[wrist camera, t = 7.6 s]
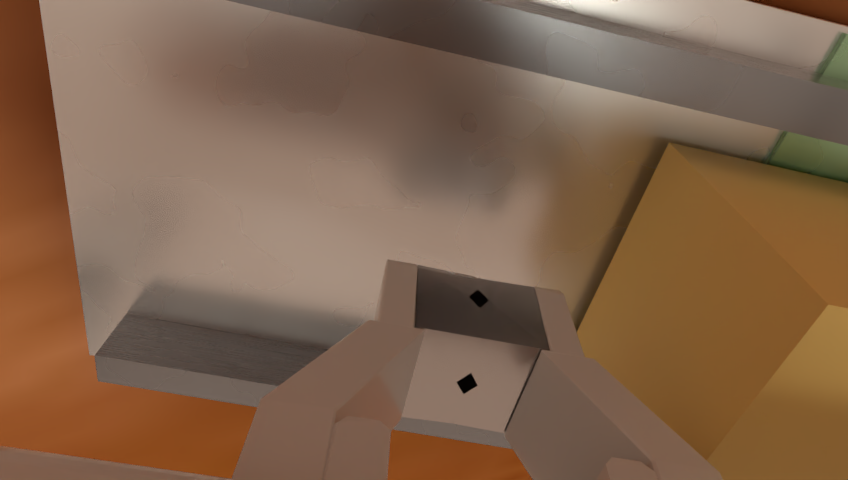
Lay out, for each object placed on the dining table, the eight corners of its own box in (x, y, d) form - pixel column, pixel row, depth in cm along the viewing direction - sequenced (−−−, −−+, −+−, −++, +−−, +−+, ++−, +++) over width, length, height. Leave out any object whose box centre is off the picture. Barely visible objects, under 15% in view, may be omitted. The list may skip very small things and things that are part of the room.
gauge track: (53, -179, 9) (-763, -360, 3) (1358, 157, 11) (2395, 439, 5) (110, 328, 14) (-121, 625, 8) (969, 477, 17) (1258, 787, 11)
